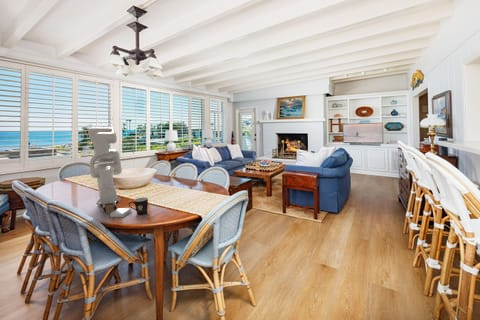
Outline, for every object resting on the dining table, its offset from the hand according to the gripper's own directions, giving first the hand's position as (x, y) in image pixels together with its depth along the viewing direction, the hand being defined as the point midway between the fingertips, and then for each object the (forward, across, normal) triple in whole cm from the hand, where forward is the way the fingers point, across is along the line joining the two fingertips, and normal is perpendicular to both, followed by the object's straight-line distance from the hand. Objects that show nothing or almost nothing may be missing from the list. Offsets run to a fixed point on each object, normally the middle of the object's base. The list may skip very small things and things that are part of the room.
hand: (110, 211), depth 157 cm
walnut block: (+1, 0, 0) cm, 1 cm away
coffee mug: (+1, -17, +15) cm, 23 cm away
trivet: (+1, -6, +9) cm, 11 cm away
